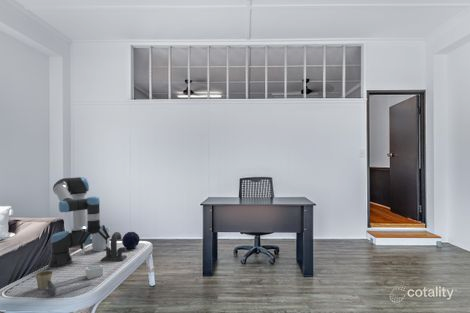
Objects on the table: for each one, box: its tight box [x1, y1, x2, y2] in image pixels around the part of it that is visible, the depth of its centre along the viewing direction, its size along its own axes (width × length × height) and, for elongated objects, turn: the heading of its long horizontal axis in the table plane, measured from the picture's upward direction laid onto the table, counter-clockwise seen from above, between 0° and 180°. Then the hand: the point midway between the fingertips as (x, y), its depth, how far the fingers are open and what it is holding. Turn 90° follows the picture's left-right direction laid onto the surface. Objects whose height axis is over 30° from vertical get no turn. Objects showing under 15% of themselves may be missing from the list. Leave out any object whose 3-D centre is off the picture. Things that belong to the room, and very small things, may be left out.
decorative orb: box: [121, 231, 140, 250], centre depth 256 cm, size 14×15×15 cm
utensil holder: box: [91, 226, 111, 252], centre depth 256 cm, size 15×15×18 cm
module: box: [85, 264, 104, 280], centre depth 196 cm, size 6×9×6 cm, turn 132°
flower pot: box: [34, 270, 54, 291], centre depth 179 cm, size 9×9×9 cm
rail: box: [47, 275, 93, 297], centre depth 179 cm, size 13×21×5 cm, turn 134°
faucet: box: [100, 231, 128, 262], centre depth 232 cm, size 18×16×20 cm
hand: (94, 251), depth 196 cm, fingers open, 13 cm apart
